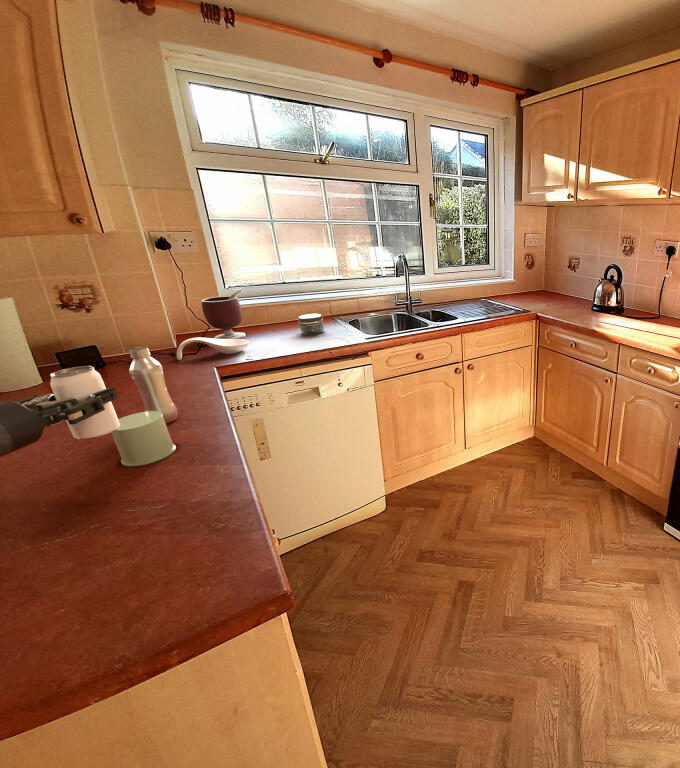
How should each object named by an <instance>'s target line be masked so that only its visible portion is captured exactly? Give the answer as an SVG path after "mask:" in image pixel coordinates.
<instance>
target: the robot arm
mask: <svg viewBox="0 0 680 768" xmlns="http://www.w3.org/2000/svg"><path fill="white" fill-rule="evenodd" d="M117 399H118V393H117V391H116V388H115V387H106V389H104V390H101V391H99V392H96V393H93V394H91V395H88V396H84V397H80V398H74V397H68V398H64V399H60V400H56V397H55V395H54V393H46V394H44V395H43V396H42V395H41V394H35V395H31V396H28V397H25V398H21V399H19V400H15V401H13V400H2V401H0V458H3V457H5V456H8V455H10V454H12V453H14V452H17V451H18V450H21V449H23V448H26V447H28V446H30V445H33V444H35V443H37V442H38V441H39V440H40V439H41V438H42V436H43V433H44V430H45V428H49V427H54V426H57V425H60V424H61V423H63V422H66V420H68V422H69V424H77V423H79V422H81V421H83V420H85V419H87V418H89V417H91V416H93V415H95V414H97V413H100V412H102V411H104V410H105V408H104V405H103V404H105V403H107V402H110V401H111V402H112V401H115V400H117ZM79 402H81V403H79ZM65 403H70V404H71V406H72V407H71V406H70V407H67V405H66V404H65Z"/></svg>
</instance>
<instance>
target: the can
mask: <svg viewBox="0 0 680 768" xmlns="http://www.w3.org/2000/svg"><path fill="white" fill-rule="evenodd" d="M49 377H50V383H49V385H50V389H51V390H52V394H54V395H55V397H56V400H60V399H64V398H68V397H74V398H80V397H84V396H88V395H91V394H93V393H96V392H99V391H101V390H104V389H106V388H107V387H106V385H105V382H104V380H103V378H102V375H101V374H100V373H99V372H98V371H97V370H95V366H92V365H81V366H73V367H69V368H64V369H60V370H57V371H54V372H52V373H50V374H49ZM79 403H81V402H79ZM65 404H66V405H67V407H70V406H71V404H70V403H65ZM103 405H104V408H105V410H104V411H102V412H100V413H97V414H95V415H93V416H91V417H89V418H87V419H85V420H83V421H81V422H79V423H77V424H69V422H68V420H66V421H65V422H66V424H67V426H68V429H69V431H70V433H71V435H72V437H73V438H74V439H77V440H83V441H84V440H92V439H97V438H101V437H104V436H107V435H109V434H110V435H111V433H112V432H114V431H115V430H117V429H118V428H119V426H120V423H119V420H118V419H119V418H118V415H117V413H116V410H115V407H114V405H113V402H112V401H110V402H107V403H105V404H103ZM71 407H72V406H71Z"/></svg>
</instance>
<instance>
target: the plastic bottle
mask: <svg viewBox="0 0 680 768" xmlns="http://www.w3.org/2000/svg"><path fill="white" fill-rule="evenodd" d="M128 352H129V355H130V359H132V362H131V363H130V366H129V369H128V372H129V375H130V376H131V378H132V380H133V382H134V384H135V385H136V387H137V389H138V391H139V394H140V396H141V400H142V403H143V406H144V412H148V411H158V412H161V413H162V415H163V417H164V420H165V423H166V425H167V424H169V423H170V424H171V423H172V422H175V421H176V420H177V419H178V416H179V414H178V413H179V412H178V408H177V406H176V404H175V403H174V402H173V400H172V398H171V395H170V394H169V391H168V389H167V385H166V381H165V375H164V370H163V369H164V368H163V365H162V364H161V363H160V362H159V361H158V360H156V359H155V358H153V357H152V356H151V352H150V350H149V347H148V346H138V347H134V348H130V349H129V350H128Z"/></svg>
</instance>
